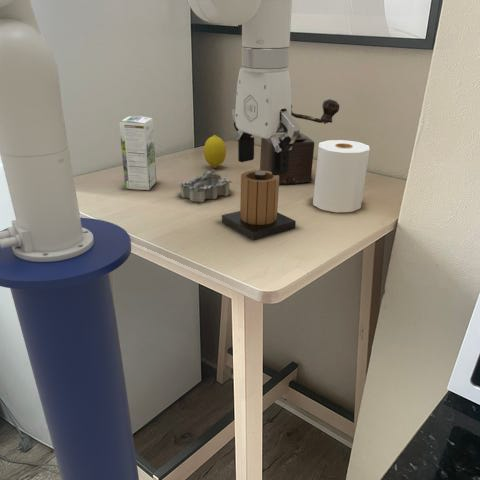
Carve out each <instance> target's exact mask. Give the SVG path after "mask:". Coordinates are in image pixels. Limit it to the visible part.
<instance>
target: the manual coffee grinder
mask: <svg viewBox="0 0 480 480" xmlns="http://www.w3.org/2000/svg"><path fill="white" fill-rule="evenodd" d="M321 106H322V111H323V114H322V115H321V117H320V118H317V117H314V116H311V115H306V114H300V113H295V112H293V110H292V108H293V104H291V117H294V118H296V119H301V120H307V121H311V122H315V123H317V124H324V125H326V124H328V123H331V124H332V123H333V118H334V116H335V115H336V114H337V113H339V110H340V104H339V103H338V101H337V100H335V99H331V98H328V99H325V100H323V102H322V105H321ZM260 139H261V140H260V157H259V159H260V160H259V170H262V171H270V172H272V153H273V151H276V150H275V148H274V145H273V143H272V141H271V138H267V139H265V138H261V137H260ZM278 139H279V141H280V143H281V141H282V138H281V137H280V138H278ZM314 152H315V141H314V140H313V139H312V138H310V137H309V136H307V135H305V134H304V133H303V132H300V131H299V134H298V136H297V138H296V142H295V143H294V145H293V146H292V149H291V150H289V162H288V172H287V173H285V174H280V175H278V176H279V185H294V184H303V183H311V182H313V181H312V173H313V172H312V171H313V163H314V162H313V161H314Z"/></svg>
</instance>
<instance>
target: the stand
mask: <svg viewBox="0 0 480 480" xmlns="http://www.w3.org/2000/svg"><path fill="white" fill-rule="evenodd" d="M254 180H266V173H265V172H255V179H254ZM296 221H297V220H295V219H292V217H291V218H290V217H288V216H286V215H285V214H282V213H280V212H278V211H277V220H276V221H275V222H273V223H270V224H265V225H257V224H256V225H254V224H248V223H246V222H244V221H242V220H241V217H240V210H238V211H233V212H230V213H225V214H222V215H221V223H222V224H223V225H226V226H227V227H229V228H231V229H233V230H234V231H236V232H238V233H239V234H241V235H243V236H245V237H246V238H248V239H250V240H252V241H255V240H259V239H263V238H267V237H271V236H272V235H276V234H280V233H284V232H287V231H290V230H294V229H296Z"/></svg>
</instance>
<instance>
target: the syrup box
mask: <svg viewBox="0 0 480 480" xmlns="http://www.w3.org/2000/svg"><path fill="white" fill-rule="evenodd" d="M119 136H120V146H121V147H120V148H121V156H122V157H121V158H122V167H123V178H124V188H125V189H126V190H136V191H137V190H139V191H150V190H151V189H152V188H153V187H154V186H155V185H156V183H157V167H156V166H157V165H156V151H155V134H154V119H153V118H152V117H148V116H142V115H130V116H126V117H125V118H123V119H122V120H120V121H119Z"/></svg>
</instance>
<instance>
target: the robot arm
mask: <svg viewBox="0 0 480 480" xmlns="http://www.w3.org/2000/svg"><path fill="white" fill-rule="evenodd" d="M187 2H188V4H189V7H190V9H191V10H192V12H193V14H195V15H196V17H198V18H199V19H201V20H202V21H204V22H207V23H211V24H216V25H228V26H241V67H240V68H239V72H238V76H237V83H236V93H235V107H234V108H233V109H231V115H232V119H233V127H234V129H235V131H236V134H235V135H236V137H235V138H236V139H237V141H238V142H237V143H238V144H237V145H238V147H237V148H238V149H237V154H238V155H237V160H238V162H240V163H245V162H249V161H253V160H254V159H255V137H258V138H260V139H261V138H265V139H267V138H271V141H272V143H273V145H274V148H275V150H276V151H273V153H272V175H274V176H276V175H280V174H285V173H287V172H288V162H289V150H291V149H292V146H293V145H294V143H295V142H296V138H297V136H298V134H299V132H300V131H301V126H300V125H299V124H298V122H297V121H296V120H295V119H294V118H293V116H292V115H291V110H292V109H291V105H292V86H291V85H292V84H291V75H290V71H289V67H290V66H289V65H290V64H289V63H290V62H289V61H290V45H291V44H290V43H291V27H292V26H291V25H292V24H291V23H292V7H293V0H187ZM34 11H35V10H34V8H33V5H32V2H31V0H0V158H1V163H2V167H3V171H4V176H5V181H6V183H7V184H6V185H7V188H8V193H9V197H10V201H11V204H12V210H13V214H14V217H15V219H14V220H11V221H10V222H11V225H12V226H9V227H6V229H7V230H6V231H2V230H0V231H1V232H0V246H1V248H7V247H11V246H12V249H13V253H14V254H15V255H16V256H17V257H19V258H21V259H23V260H26V261H32V262H56V261H62V260H66V259H70V258H74V257H76V256H79V255H81V254H83V253H85V252H86V251H88V250H89V249H90V248H91V247H92V246H93V244H94V238H93V234H92V233H91V232H90V231H89V230H87V229H85V228H83V227H82V225H81V219H80V218H81V213H80V209H79V201H78V195H77V190H76V189H77V188H76V183H75V178H74V172H73V166H72V159H71V154H70V148H69V143H68V136H67V131H66V125H65V118H64V112H63V111H64V110H63V103H62V95H61V84H60V77H59V75H60V74H59V70H58V65H57V62H56V61H57V60H56V58H55V55H54V52H53V51H52V49H51V46H50V45H49V43H48V41H47V40H46V39H45V37H44V36H43V35H42V33H41V30H40V28H39V24H38V22H37V21H38V20H37V18H36V15H35V12H34ZM254 136H255V137H254ZM280 137H281V138H282V141H281V143H280V141H279V139H278V138H280Z"/></svg>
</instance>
